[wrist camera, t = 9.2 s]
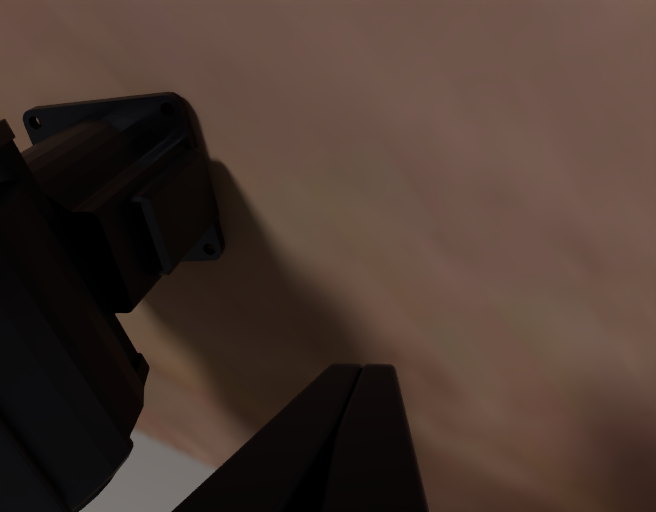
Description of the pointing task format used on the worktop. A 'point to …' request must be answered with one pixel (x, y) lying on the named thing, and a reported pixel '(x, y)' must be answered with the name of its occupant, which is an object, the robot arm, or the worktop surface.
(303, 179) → the worktop surface
